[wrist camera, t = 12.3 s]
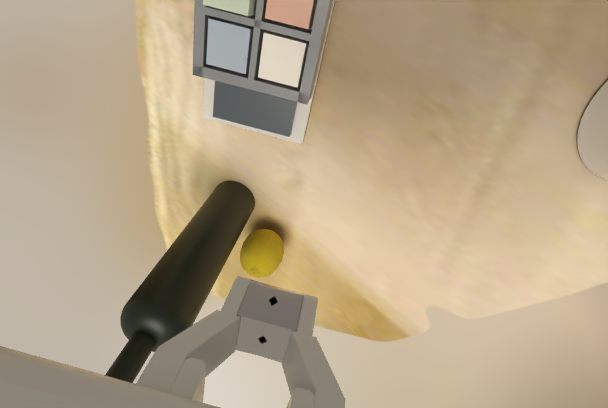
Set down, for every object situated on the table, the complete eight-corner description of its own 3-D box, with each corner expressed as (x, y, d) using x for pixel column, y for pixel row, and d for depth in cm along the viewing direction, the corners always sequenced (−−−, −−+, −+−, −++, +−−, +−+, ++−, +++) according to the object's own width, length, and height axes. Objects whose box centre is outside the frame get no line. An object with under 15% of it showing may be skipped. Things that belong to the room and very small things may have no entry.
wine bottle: (239, 224, 48) (100, 476, 23) (206, 199, 47) (19, 438, 22) (263, 200, 45) (133, 457, 20) (228, 172, 44) (43, 412, 19)
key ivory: (269, 30, 33) (263, 32, 31) (309, 40, 33) (306, 43, 31) (263, 72, 35) (257, 77, 33) (301, 82, 35) (297, 87, 33)
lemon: (256, 249, 50) (238, 289, 44) (246, 218, 48) (226, 256, 41) (291, 248, 49) (279, 289, 42) (284, 217, 46) (270, 255, 40)
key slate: (217, 16, 33) (208, 18, 31) (257, 27, 33) (250, 29, 31) (214, 60, 35) (206, 63, 33) (252, 69, 35) (245, 74, 33)
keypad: (215, -76, 31) (195, -85, 27) (344, -44, 30) (341, -48, 27) (205, 115, 40) (190, 127, 37) (303, 141, 40) (297, 155, 37)
